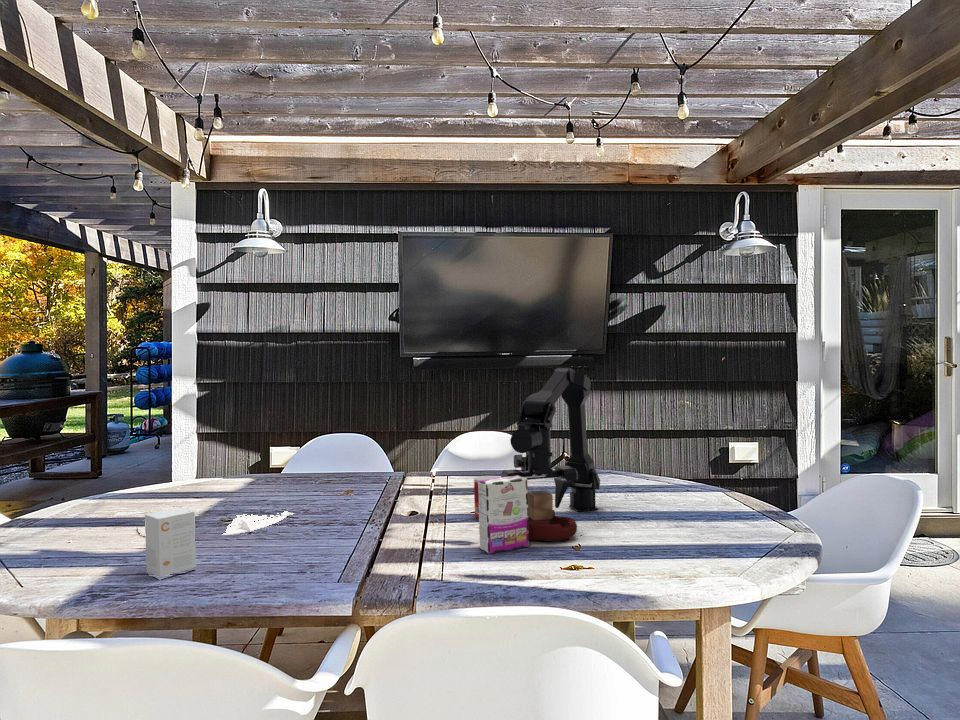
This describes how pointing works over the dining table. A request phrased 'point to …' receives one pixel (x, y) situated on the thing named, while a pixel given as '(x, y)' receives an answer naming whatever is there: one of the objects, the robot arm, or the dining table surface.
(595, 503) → the robot arm
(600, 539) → the dining table surface
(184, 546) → the small box
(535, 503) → the walnut block
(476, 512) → the canned food
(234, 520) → the white flat piece
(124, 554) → the dining table surface
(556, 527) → the ashtray
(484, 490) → the candy bar box
